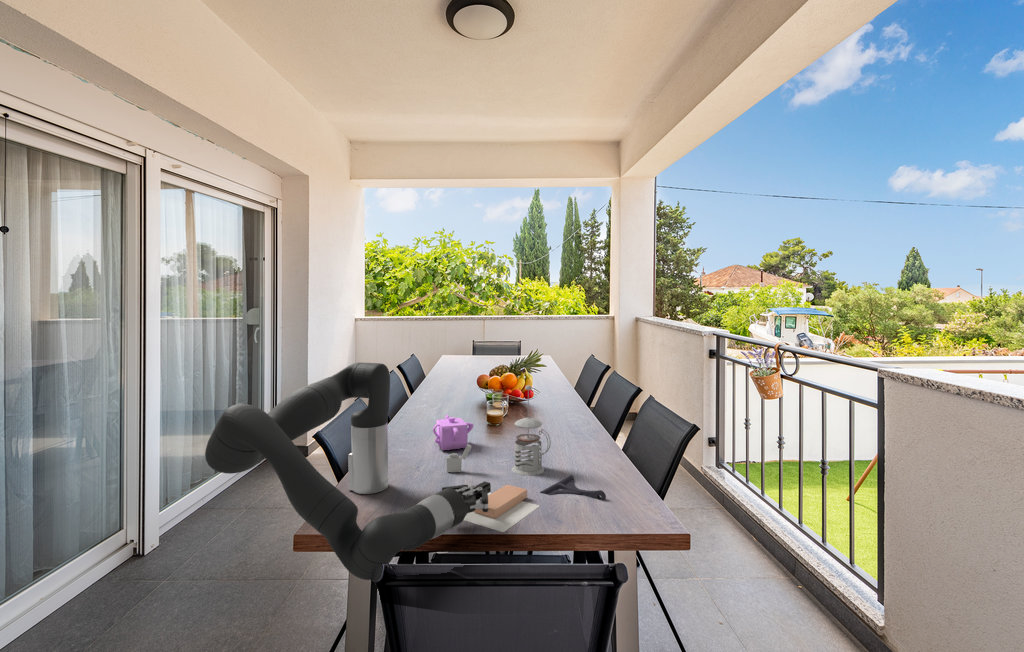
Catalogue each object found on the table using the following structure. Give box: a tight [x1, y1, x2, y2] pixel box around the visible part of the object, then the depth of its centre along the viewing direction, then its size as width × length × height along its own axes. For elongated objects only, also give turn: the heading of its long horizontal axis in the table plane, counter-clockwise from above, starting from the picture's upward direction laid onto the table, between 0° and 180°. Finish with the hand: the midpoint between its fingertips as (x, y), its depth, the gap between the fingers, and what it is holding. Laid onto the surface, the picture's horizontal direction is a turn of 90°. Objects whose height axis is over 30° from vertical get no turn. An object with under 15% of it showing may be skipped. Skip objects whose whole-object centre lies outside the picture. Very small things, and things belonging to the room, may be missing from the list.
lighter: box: [446, 443, 472, 473], centre depth 143 cm, size 7×2×8 cm, turn 90°
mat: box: [463, 492, 540, 533], centre depth 116 cm, size 16×16×1 cm
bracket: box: [539, 475, 607, 501], centre depth 128 cm, size 14×15×3 cm
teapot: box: [432, 414, 475, 451], centre depth 168 cm, size 18×14×10 cm
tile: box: [474, 484, 528, 518], centre depth 119 cm, size 6×2×14 cm
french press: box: [511, 384, 552, 476], centre depth 144 cm, size 10×12×25 cm
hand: (487, 486), depth 113 cm, fingers closed
